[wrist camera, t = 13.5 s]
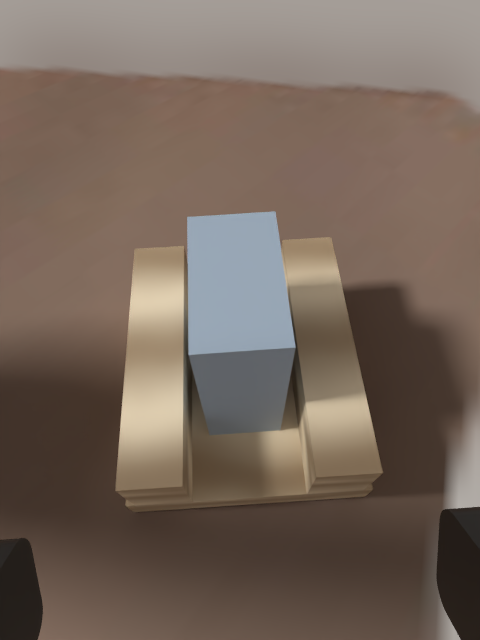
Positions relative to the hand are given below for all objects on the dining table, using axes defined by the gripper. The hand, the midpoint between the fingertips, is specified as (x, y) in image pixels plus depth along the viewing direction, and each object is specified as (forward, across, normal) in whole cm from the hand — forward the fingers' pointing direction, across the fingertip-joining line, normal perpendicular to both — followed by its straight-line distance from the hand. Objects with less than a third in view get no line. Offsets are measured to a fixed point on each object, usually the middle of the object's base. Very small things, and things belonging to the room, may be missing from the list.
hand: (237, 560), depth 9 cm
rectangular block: (+18, 0, +3) cm, 18 cm away
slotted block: (+20, -1, +4) cm, 20 cm away
